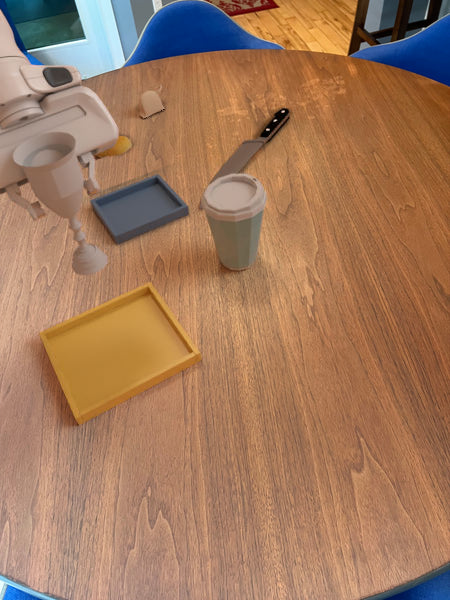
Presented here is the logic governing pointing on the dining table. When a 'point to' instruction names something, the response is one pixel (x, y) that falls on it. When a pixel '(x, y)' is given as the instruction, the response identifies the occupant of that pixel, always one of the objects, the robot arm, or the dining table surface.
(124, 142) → the bread roll
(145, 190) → the slate tray
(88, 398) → the mustard tray
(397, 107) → the dining table surface
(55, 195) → the chalice
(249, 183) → the disposable coffee cup
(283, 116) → the kitchen knife
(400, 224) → the dining table surface
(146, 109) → the decorative ornament
